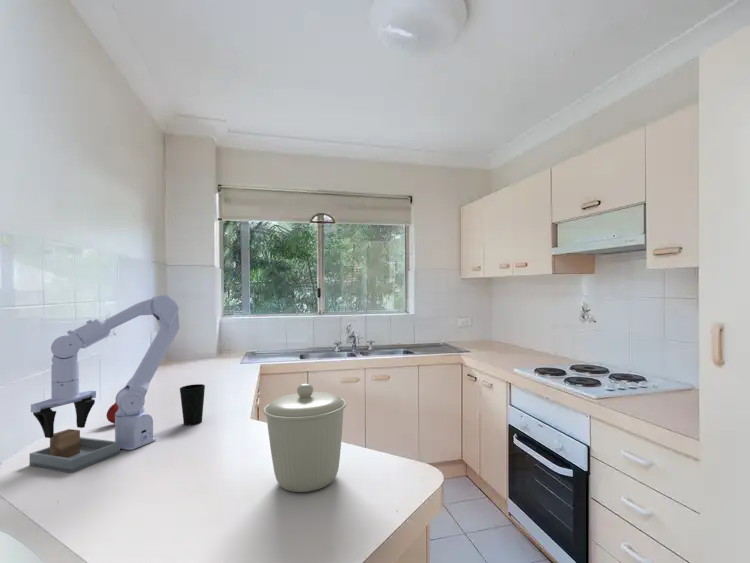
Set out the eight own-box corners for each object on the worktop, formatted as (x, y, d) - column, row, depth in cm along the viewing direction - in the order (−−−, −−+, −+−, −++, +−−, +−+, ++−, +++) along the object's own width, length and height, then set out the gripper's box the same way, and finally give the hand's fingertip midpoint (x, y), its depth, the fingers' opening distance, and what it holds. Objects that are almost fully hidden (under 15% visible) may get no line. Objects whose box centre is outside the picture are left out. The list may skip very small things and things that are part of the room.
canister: (249, 482, 83) (247, 385, 84) (317, 456, 95) (314, 372, 96) (294, 514, 70) (291, 398, 71) (365, 479, 82) (362, 381, 83)
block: (79, 453, 101) (79, 430, 102) (61, 459, 97) (61, 436, 97) (68, 451, 103) (68, 429, 103) (49, 458, 99) (50, 434, 99)
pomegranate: (110, 428, 124) (110, 403, 124) (103, 425, 127) (103, 401, 128) (130, 423, 128) (130, 399, 129) (123, 420, 132) (123, 397, 132)
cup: (198, 426, 123) (198, 389, 124) (175, 426, 123) (175, 389, 124) (209, 418, 131) (208, 383, 131) (187, 419, 131) (187, 384, 131)
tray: (119, 453, 102) (119, 442, 102) (71, 473, 91) (71, 460, 91) (79, 447, 108) (80, 436, 108) (29, 465, 96) (29, 453, 96)
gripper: (84, 374, 109) (84, 422, 108) (23, 386, 95) (23, 440, 95) (100, 375, 107) (101, 424, 106) (40, 387, 93) (40, 443, 92)
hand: (65, 432), depth 100 cm, fingers open, 7 cm apart
